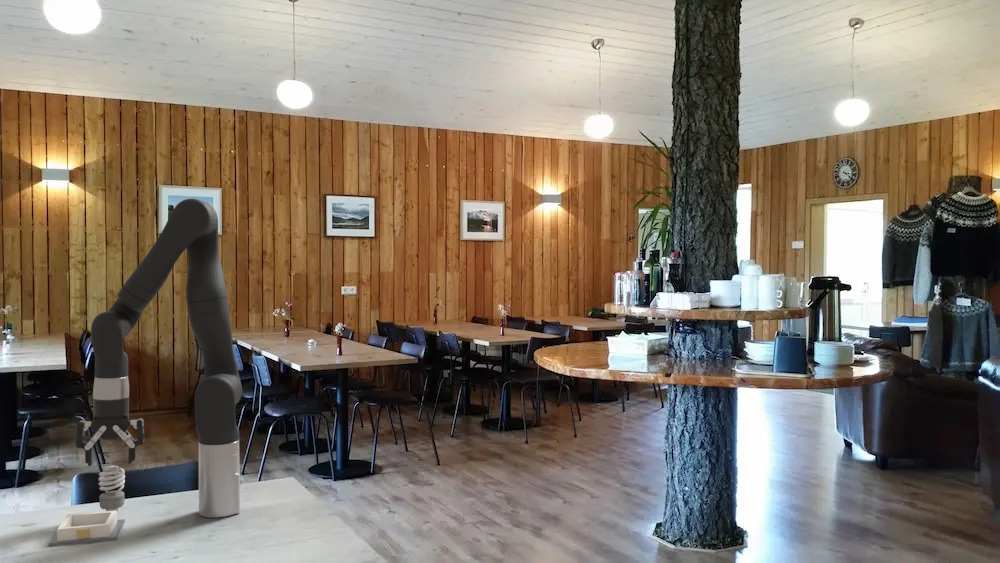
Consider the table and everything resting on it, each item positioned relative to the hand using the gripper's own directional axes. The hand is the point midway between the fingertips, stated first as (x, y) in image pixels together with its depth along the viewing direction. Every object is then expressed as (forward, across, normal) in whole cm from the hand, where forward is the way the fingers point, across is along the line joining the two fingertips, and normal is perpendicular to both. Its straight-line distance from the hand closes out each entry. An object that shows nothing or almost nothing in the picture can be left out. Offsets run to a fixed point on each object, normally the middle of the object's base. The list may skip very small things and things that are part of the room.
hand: (110, 463), depth 181 cm
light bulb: (+13, 0, 0) cm, 13 cm away
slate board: (+12, +2, +11) cm, 17 cm away
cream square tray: (+12, +2, +11) cm, 17 cm away
